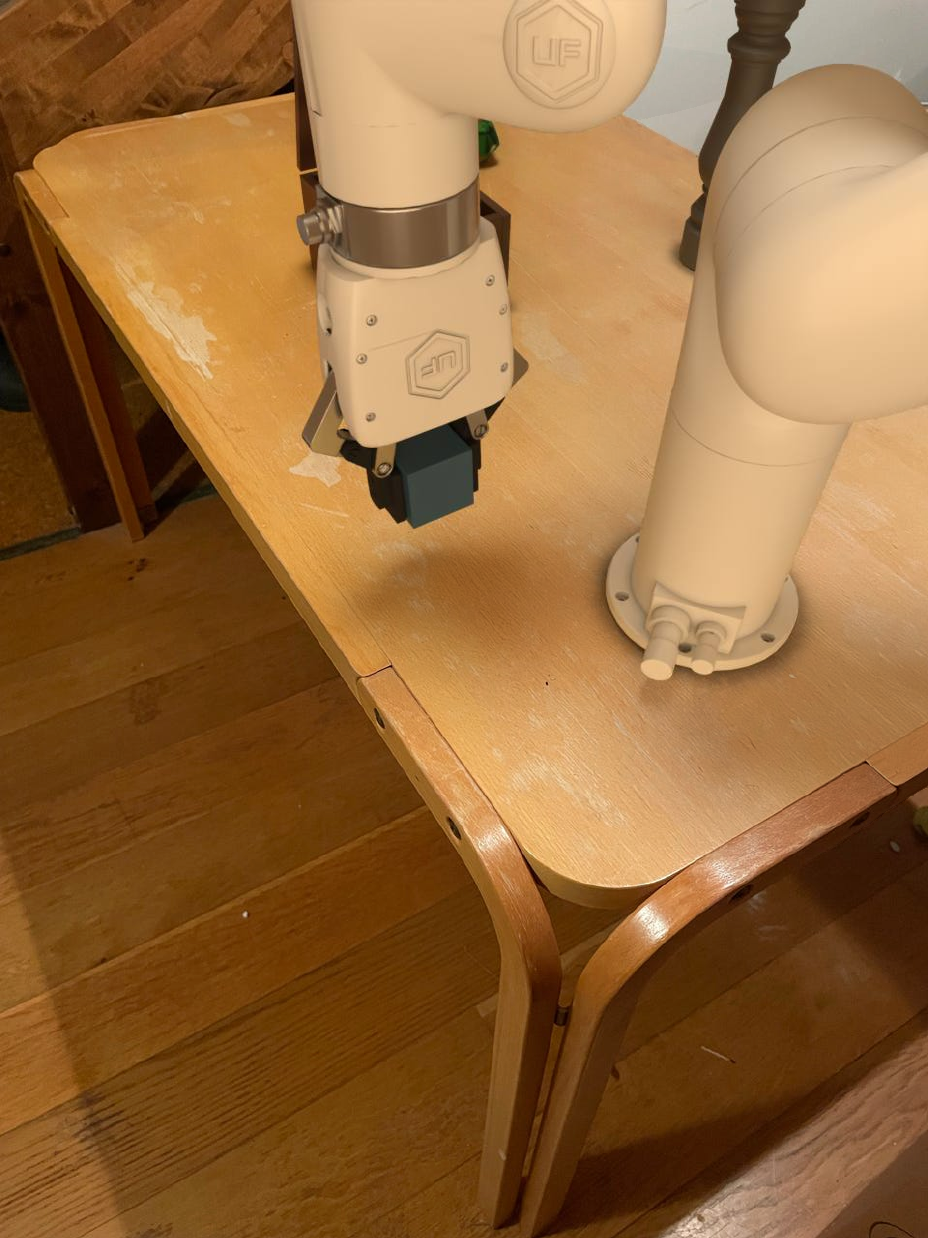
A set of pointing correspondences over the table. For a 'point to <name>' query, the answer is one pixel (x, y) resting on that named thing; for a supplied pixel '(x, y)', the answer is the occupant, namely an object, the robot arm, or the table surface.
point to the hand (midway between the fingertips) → (427, 492)
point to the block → (435, 474)
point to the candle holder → (741, 92)
